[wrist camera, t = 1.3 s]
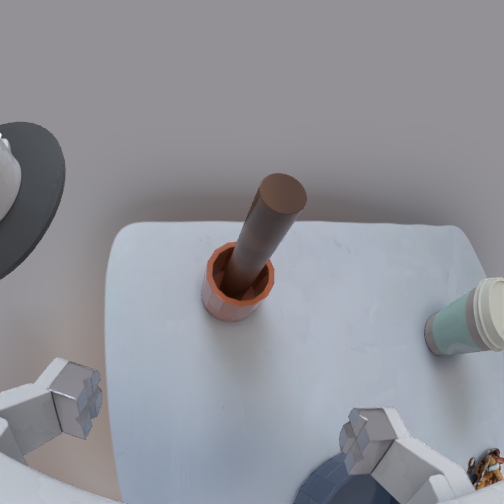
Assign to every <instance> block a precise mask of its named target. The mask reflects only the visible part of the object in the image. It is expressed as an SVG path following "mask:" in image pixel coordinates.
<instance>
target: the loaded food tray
mask: <svg viewBox="0 0 504 504" xmlns="http://www.w3.org/2000/svg"><path fill="white" fill-rule="evenodd" d="M499 455H500V451H499V449H497V448H493V449H492V450H488V452H487V455H486V457H485V458H484V459H483V461H481V462H480V463H479V464H478V466H477V467H475V466H474V463H475V458H472V459H471V460H470V462H469V466H470V467H469V470H468V474H469V475H473V474H477V475H478V480H477V482H475V483H474V485H473V487H474V488H475V490H479V489H481V488H484V487H486V486H489V485H491V484H494V483H496V482H498V481H501V480H503V477H502V474H501V473H500V470H501V467H500V466H499V464H503V463H504V458H501V457H499Z"/></svg>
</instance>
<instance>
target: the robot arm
mask: <svg viewBox="0 0 504 504" xmlns="http://www.w3.org/2000/svg"><path fill="white" fill-rule="evenodd" d="M20 184H21V168H20V165H19V163H18V161H17V160H16V159H15V158H14V156H13V155H12V154H11V147H10V143H9V142H8V140H7V139H5V138H4V139H2V138H1V134H0V221H1V220H2V219H3V218H4V216H5V215H6V214H7V212H8V211H9V210H10V208H11V206H12V205H13V203H14V201H15V199H16V197H17V194H18V191H19V188H20ZM99 382H100V373H99V371H98V370H95V369H92V368H89V367H86V366H83V365H80V364H77V363H74V362H70V361H67V360H65V359H62V358H59V357H57V358H55V359H54V360H53V361H52V362H51V363H50V365H49V366H48V367H47V368H46V369H45V370H44V372H43V373H42V374H41V375H40V377H39V378H38V379H37V380H36V381H35V383H34V384H31V383H28V384H25V385H22V386H19V387H16V388H13V389H10V390H7V391H3V392H0V504H126V503H122V502H118V501H115V500H112V499H109V498H106V497H102V496H99V495H96V494H93V493H91V492H88V491H85V490H82V489H79V488H76V487H74V486H71V485H69V484H66V483H64V482H61V481H59V480H56V479H54V478H52V477H50V476H47V475H45V474H43V473H41V472H39V471H36V470H34V469H32V468H30V467H29V466H28V465H27V463H26V461H25V459H24V457H23V456H24V455H26V454H27V453H29V452H31V451H33V450H34V449H36V448H37V447H39V446H41V445H43V444H44V443H46V442H48V441H50V440H51V439H53V438H55V437H56V436H58V435H60V434H61V433H62V432H64V433H67V434H70V435H72V436H75V437H79V438H82V439H86V437H87V436H88V434H89V431H90V430H91V428H92V421H91V419H93V418H95V417H97V416H98V413H99V411H100V408H101V404H102V390H101V389H100V388H99V386H98V384H99ZM348 417H349V420H350V421H349V422H348V423H346V424H345V425H343V428H342V430H341V432H340V437H339V445H340V449H341V451H342V452H343V453H344V454H346V455H347V456H346V458H345V459H344V462H345V466H346V469H347V472H348V475H359V474H371V476H372V477H373V478H374V479H375V480H376V481H377V482H378V483H379V484H380V485H382V486H383V487H384V488H385V489H386V490H387V491H388V492H389V493H390V494H391V495H392V496H393V497H394V498H395V499H396V500H397V501H398V502H399V503H400V504H504V479H503V480H501V481H499V482H496V483H494V484H491V485H489V486H486V487H484V488H481V489H479V490H475V488H474V487H473V485H472V483H471V481H470V480H469V478H468V476H467V474H466V473H465V471H464V469H463V467H461V466H459V465H458V464H456V463H454V462H453V461H451V460H450V459H448V458H446V457H445V456H443V455H442V454H440V453H438V452H437V451H435V450H434V449H432V448H431V447H429V446H427V445H426V444H424V443H423V442H421V441H420V440H418V439H417V438H411V436H410V434H409V432H408V430H407V428H406V426H405V424H404V423H403V421H402V419H401V417H400V415H399V413H398V412H397V410H396V409H395V408H394V407H381V408H353V409H352V410H351V412H350V414H349V416H348Z"/></svg>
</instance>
